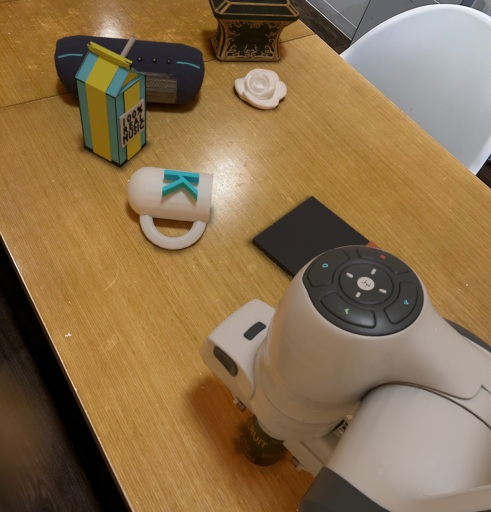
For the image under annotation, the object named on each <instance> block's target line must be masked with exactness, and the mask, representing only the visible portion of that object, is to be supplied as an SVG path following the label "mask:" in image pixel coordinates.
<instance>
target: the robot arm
mask: <svg viewBox="0 0 491 512" xmlns="http://www.w3.org/2000/svg"><path fill="white" fill-rule="evenodd" d="M381 249H382V248H381ZM381 249H378V248H374V247H369V246H345V247H340V248H336V249H332V250H329V251H327V252H324V253H322V254H320V255H319V256H317V257H315V258H314V259H312V260H311V261H310V262H308V263H307V264H306V265H305V266H304V267H303V268H302V269H301V270H300V271H299V272H298V273H297V274H296V275H295V277H294V278H291V279H292V280H290V283H289V284H288V285H287V287H286V288H285V290H284V292H283V294H282V296H281V297H280V300H279V301H278V303H277V305H276V307H272V306H271V305H269V304H267V302H265V301H263V300H261V299H259V298H252V299H250V300H249V301H248V302H246V303H245V304H242V305H241V306H239V307H238V308H237V309H236V310H234V311H233V312H232V313H230V314H229V315H227V317H226V318H224V319H223V320H222V321H221V322H220V323H219V324H217V326H215V328H214V329H213V330H212V331H211V332H210V333H209V334H208V335H207V337H206V338H205V339H204V340H203V341H202V343H201V345H200V348H199V357H200V358H201V360H202V362H203V364H204V365H205V366H206V367H207V368H208V369H209V370H210V371H211V372H212V373H213V374H214V375H215V376H216V378H218V380H220V381H221V382H222V383H223V385H224V386H225V387H226V388H227V389H228V390H229V391H230V393H231V395H232V397H233V401H232V404H233V405H234V406H235V407H236V408H237V409H238V410H239V411H240V412H241V413H244V412H245V411H246V410H249V411H250V413H251V412H252V413H253V414H254V413H255V415H256V416H257V418H258V419H259V420H260V421H261V423H262V424H263V425H264V426H265V427H266V428H268V429H269V430H270V431H271V432H273V433H274V434H276V435H278V436H280V437H282V438H284V439H285V441H284V442H283V445H284V446H285V447H286V448H287V449H288V452H289V453H290V454H291V455H292V457H291V458H290V459H289V460H288V462H289V463H290V464H291V466H292V467H294V468H295V470H296V471H297V472H298V473H300V472H301V471H302V470H303V471H305V472H307V473H310V475H311V476H312V477H314V479H313V480H312V482H311V483H310V484H309V486H308V487H307V488H306V490H305V492H304V493H303V494H302V496H301V498H300V499H299V501H298V503H297V505H298V507H297V508H298V512H491V345H490V344H488V342H486V341H484V340H483V339H482V338H481V337H480V336H477V335H476V334H475V333H473V332H472V331H471V330H469V329H467V328H466V327H465V326H462V325H460V324H459V323H457V322H454V321H453V320H450V319H448V318H446V317H443V316H442V315H441V314H440V313H439V312H438V310H437V309H436V308H435V306H434V304H433V301H432V300H431V297H430V296H429V295H430V294H429V292H428V290H427V288H426V286H425V283H424V282H423V280H422V279H421V277H420V276H419V274H418V273H417V272H416V271H415V269H413V268H412V267H411V266H410V265H409V264H408V263H407V262H406V261H404V260H402V259H401V258H399V257H398V256H397V255H394V254H392V253H391V252H389V251H386V250H384V249H382V250H381ZM348 416H351V419H350V418H349V417H348Z"/></svg>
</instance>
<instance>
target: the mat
mask: <svg viewBox="0 0 491 512" xmlns="http://www.w3.org/2000/svg"><path fill="white" fill-rule="evenodd" d="M251 243H252V244H253V245H254V246H255V247H256V248H257V249H258V250H260V251H261V252H262V253H264V255H266V256H267V257H268V258H269V259H270V260H271V261H272V262H273V263H275V264H276V265H277V266H278V267H279V268H280V269H281V270H282V271H284V272H285V273H286V274H287V275H288V276H289V277H291V279H293V278H294V277H295V275H296V274H297V273H298V272H299V271H300V270H301V269H302V268H303V267H304V266H305V265H306V264H307V263H308V262H310V261H311V260H312V259H314V258H315V257H317V256H319V255H320V254H322V253H324V252H327V251H329V250H332V249H336V248H340V247H345V246H369V247H374V248H378V249H381V250H383V249H382V248H381V247H380V246H378V245H377V244H376V243H375V242H374V241H372V240H369V239H368V238H366V237H365V236H364V235H363V234H361V233H360V232H359V231H357V230H356V229H355V228H354V227H353V226H352V225H350V224H349V223H347V222H346V221H345V220H344V219H343V218H341V217H340V216H338V214H336V213H335V212H334V211H332V210H331V209H330V208H329V207H327V206H326V205H325V204H323V203H322V202H321V201H319V200H318V198H316V197H315V196H313V195H311V196H310V197H309V198H307V199H305V200H304V201H303V202H302V203H300V204H299V205H297V206H296V207H295V208H293V209H292V210H290V211H289V212H287V213H285V215H283V216H282V217H280V218H279V219H278V220H277V221H275V222H274V223H272V224H271V225H270V226H268V227H267V228H265V229H264V230H263V231H261V232H260V233H259V234H257V235H256V236H255V237H253V238H252V241H251Z"/></svg>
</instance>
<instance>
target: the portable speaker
mask: <svg viewBox="0 0 491 512" xmlns="http://www.w3.org/2000/svg"><path fill="white" fill-rule="evenodd" d="M129 39H130V38H120V37H110V36H109V37H107V36H96V35H86V34H85V35H84V34H75V35H68V36H63V37H60V38H59V39H56V43H55V49H54V53H53V59H54V66H55V70H56V74H57V78H58V79H59V81H60V83H61V85H62V86H63V88H64V90H65V92H66V93H68V94H69V95H71V96H73V97H74V98H78V96H77V88H76V81H75V76H76V74H77V72H78V70H79V68H80V66H81V65H82V63H83V61H84V59H85V57H86V55H87V53H88V51H89V49H88V46H87V44H90V42H93V43H95V44H98V45H100V46H102V47H104V48H106V49H108V50H110V51H112V52H114V53H116V54H118V55H121V53H122V51H123V50H124V48H125V46H126V45H127V43H128V41H129ZM203 56H204V53H203V51H201V50H200V49H198V48H196V47H194V46H191V45H187V44H185V43H179V42H168V41H157V40H143V39H136V40H135V42H134V43H133V45H132V47H131V48H130V50H129V52H128V54H127V55H126V57H125V58H126V59H128V60H130V61H132V68H133V69H135V70H137V71H139V72H141V73H143V74H145V75H146V103H160V104H176V105H186V104H189V103H190V102H193V101H195V100H196V97H197V95H198V94H199V93H200V91H201V90H202V86H203V83H204V80H205V73H206V72H205V71H206V68H205V66H206V65H205V61H204V59H203V58H204V57H203Z"/></svg>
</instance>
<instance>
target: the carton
mask: <svg viewBox="0 0 491 512" xmlns="http://www.w3.org/2000/svg"><path fill="white" fill-rule="evenodd" d="M128 39H129V41H128V43H127V45H126V46H125V48H124V50H123V51H122V53H121V55H118V54H116V53H114V52H112V51H110V50H108V49H106V48H104V47H102V46H100V45H98V44H95V43H93V42H90V44H87V46H88V49H89V51H88V53H87V55H86V57H85V59H84V61H83V63H82V65H81V66H80V68H79V70H78V72H77V74H76V76H75V81H76V88H77V96H78V97H77V101H78V102H77V103H78V109H79V117H80V123H81V130H82V131H81V132H82V139H83V145H84V150H86V151H88V152H90V153H92V154H94V155H96V157H99V158H101V159H103V160H104V161H106V162H108V163H110V164H112V165H114V166H116V167H117V168H119V169H121V168H122V167H123V166H124V165H126V164H127V163H128V162H130V160H131V159H132V158H133V157H134V156H136V155H137V154H138V153H139V152H140V151H141V150H142V149H143V148H145V147H146V146H147V145H148V144H147V143H148V142H147V102H146V75H145V74H143V73H141V72H139V71H137V70H135V69H133V68H132V61H130V60H128V59H126V58H125V57H126V55H127V54H128V52H129V50H130V48H131V47H132V45H133V43H134V42H135V40H137V37H136V36H134V35H131V36H130V38H128Z"/></svg>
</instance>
